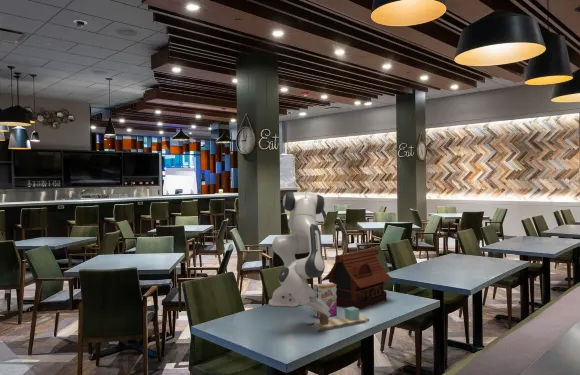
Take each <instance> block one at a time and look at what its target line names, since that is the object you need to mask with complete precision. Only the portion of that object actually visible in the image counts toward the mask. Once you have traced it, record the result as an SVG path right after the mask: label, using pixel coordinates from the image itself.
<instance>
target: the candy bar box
mask: <svg viewBox="0 0 580 375" xmlns="http://www.w3.org/2000/svg"><path fill="white" fill-rule="evenodd" d="M313 290H314V291H315V297H316V298H319V299H320V300H322V301H323V302H324V303H325V304H326V305H328V307H329V308H330V310H329V311H328V312H329V313H330V314H331V315H330V316H329V317H328V318H330V317H337V315H338V314H337V313H338V310H337V308H338V306H337V285H336V284H334V283H330V282H326V283H325V282H324V283H314V284H313ZM313 316H314V317H315V318H316V319H320V312H317V311H315V310H314V309H313Z"/></svg>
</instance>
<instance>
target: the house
mask: <svg viewBox="0 0 580 375" xmlns="http://www.w3.org/2000/svg"><path fill="white" fill-rule="evenodd" d="M379 250H380V249H379V248H377V247H372V248H367V249H363V250H358V251H353V252H348V253H341V254H336V255H335V257H334V258H335V259H334V260H335V261H334V263H333V266H332V267H331V269H330V271H329V272H328V273H327V274H326V275H325V276H324V277H323V278H322V279H321V280H320V281H321V282H323V281H327V280H328V283H334V284H336V285H337V308H342V309H345V308H348V307H355V308H358V309H359V310H362V309H365V308H368V307H371V306H374V305H378V304H380V302H381V303H383V301H384V302H386V301H387V295H388V294H387V291H386V290H385V285H386V284H387V283H386V282H388V281H392V280H393V278H392V277H391V275H389V273H387V271H386V270H385V269H384V268H383V266H382V264H381V263H380V261H379V258H378V257H377V255H379Z"/></svg>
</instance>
